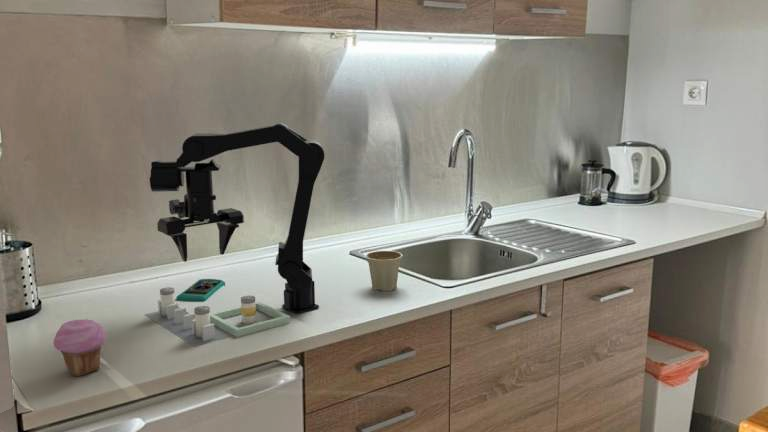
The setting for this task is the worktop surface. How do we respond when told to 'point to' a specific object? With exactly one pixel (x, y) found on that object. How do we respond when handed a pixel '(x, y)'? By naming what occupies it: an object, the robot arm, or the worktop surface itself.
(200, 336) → the fuse right
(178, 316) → the fuse panel
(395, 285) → the flower pot
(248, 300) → the fuse marked
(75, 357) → the cupcake
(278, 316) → the tray
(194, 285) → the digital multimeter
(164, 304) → the fuse left
